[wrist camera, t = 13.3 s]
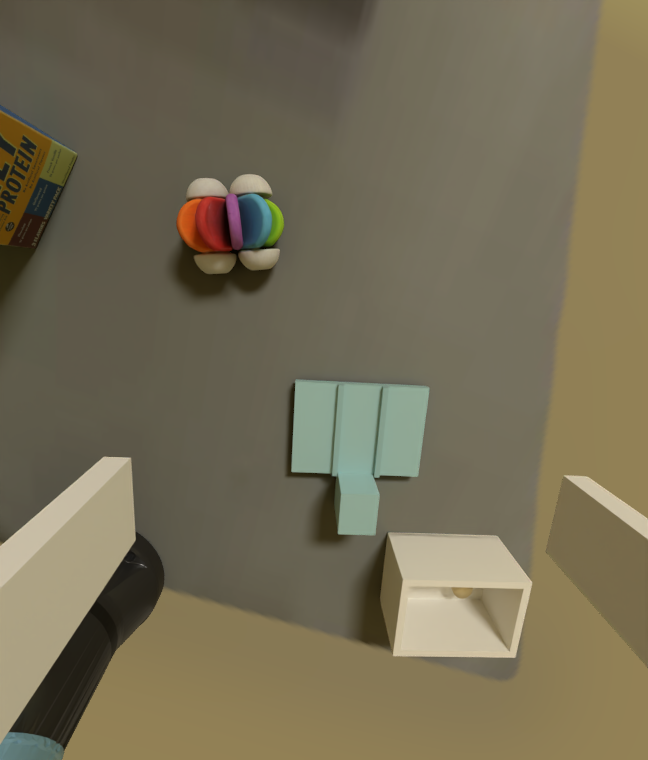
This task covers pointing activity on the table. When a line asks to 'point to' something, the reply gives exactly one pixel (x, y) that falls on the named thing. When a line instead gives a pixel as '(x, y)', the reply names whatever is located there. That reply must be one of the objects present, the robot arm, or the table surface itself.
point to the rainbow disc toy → (231, 223)
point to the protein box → (28, 179)
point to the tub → (452, 595)
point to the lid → (358, 441)
